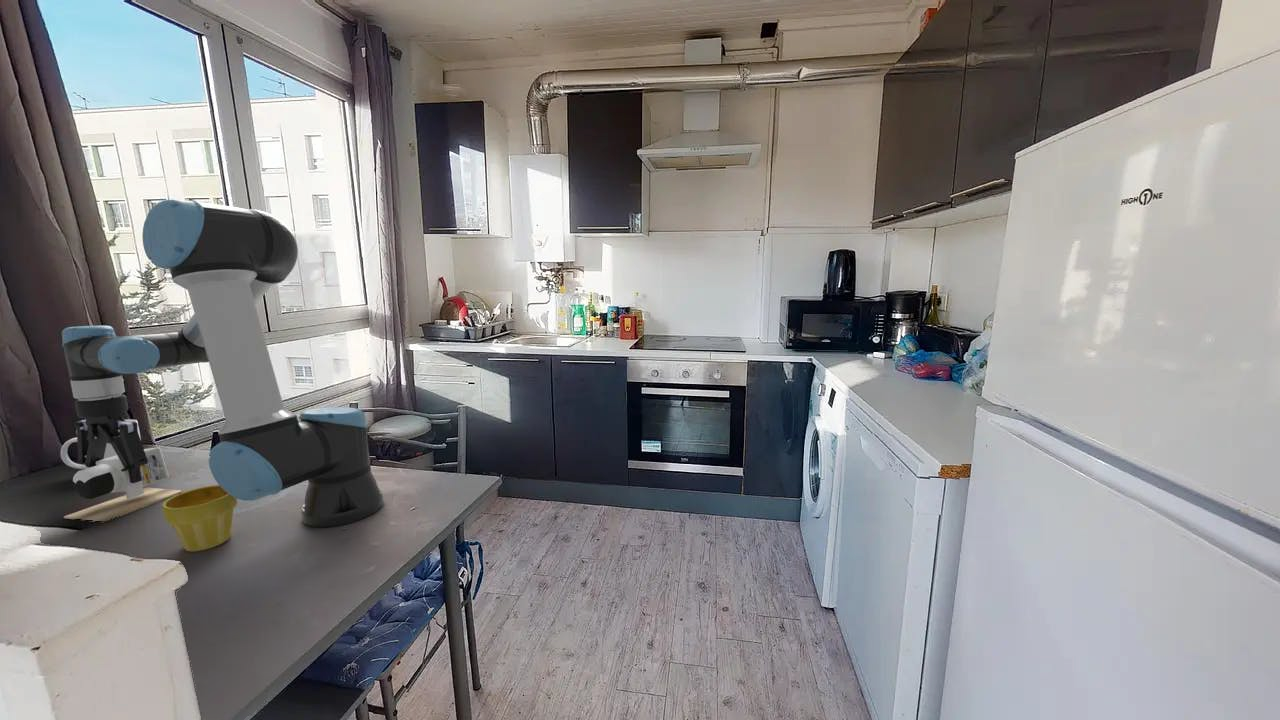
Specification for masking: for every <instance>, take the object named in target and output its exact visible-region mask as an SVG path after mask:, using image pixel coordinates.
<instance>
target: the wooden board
mask: <svg viewBox="0 0 1280 720" xmlns="http://www.w3.org/2000/svg"><path fill="white" fill-rule="evenodd" d="M143 491H144V494H141V495H138V496H135V497H133V498H130V499H128V498H127V497H126V494H124V495H121V496H119V497H116V498H115V497H114V498H113V499H110V500H107V501H104V502H102V503H99V504H95V505H93V506H90V507H87V508H84V509H81V510H79V511H76V512H73V513H70V514H66V515H64V516H63V519H66V520H67V519H69V520H75V519H81V520H80V521H85V520H93V521H92V522H95V521H103V522H102V523H105V522H104V521H107V522H109V521H111V520H110V519H112V520H114V519H116V518H115V517H117V518H120V517H123V516H124V515H127V514H130V513H133V512H136V511H138V510H141V509H144V508H146V507H147V506H151V505H153V504H156V503H159V502H161V501H164V500H168V499H169V498H171V497H173V496H175V495H178V494H179V493H183V492H184V491H183V490H182V489H181V490H180V489H170V488H168V489H167V488H157V487H143ZM140 508H141V509H140ZM137 509H138V510H137ZM119 516H120V517H119ZM113 518H114V519H113ZM108 520H109V521H108Z"/></svg>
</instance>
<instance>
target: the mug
mask: <svg viewBox="0 0 1280 720" xmlns="http://www.w3.org/2000/svg"><path fill="white" fill-rule="evenodd" d="M124 420H125V422H128V423H130V422H134V421H135V422H136V423H137V428H138V434H139V437H140V440H141V441H142V438H141V431H140V427H139V422H138V419H124ZM75 432H76V434H77V430H75ZM72 443H77V436H76V437H73V438H70V439H68V440H67V441H65V442H64V444H62V446H61V448H60V458H61V460H62V461H63V463H64V464H65V465H66V466H68V467H70V468H72V469H79V470H84V469H87V468H88V467H86V466H85V464H80V463H77V462H74V461H72V460H71V459H70V457H69V453H68V448H69V446H70V445H72ZM116 455H117V454H116V452H115V450H114V449H113V447H112V445H111V444H109V443H107V444H106V449H105V454H104V459H106V458H109V457H113V456H116ZM85 457H86V456H85Z"/></svg>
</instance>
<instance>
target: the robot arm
mask: <svg viewBox="0 0 1280 720" xmlns="http://www.w3.org/2000/svg"><path fill="white" fill-rule="evenodd" d="M141 235H142V237H141V238H142V246H143V250H144V253H145V255H146V258H147V259H148V260H150V261H151V264H153V265H154V266H156V267H158V268H161V269H163V270H169V273H170V275H171V278H172V281H173V283H174V284H176V285H177V286H180V287H181V288H183V289H185V290H187V293H188V296H189V300H190V303H191V305H192V309H193V313H194V314H193V315H192V316H191V317H190V319H189V320H188V321H187V323H185V325H183V327H182V328H181V329H180V331H176V332H175V331H174V332H162V333H153V334H139V335H137V334H136V335H124V336H118V335H117V334H116V332H115V328H113V327H112V326H111V325H79V326H68V327H66V328H64V329H62V331H61V336H62V339H61V340H62V344H61V346H62V348H63V350H64V356H65V360H66V365H67V371H68V374H69V380H70V381H69V382H70V386H71V392H72V398H74V399H77V400H75V402H74V405H75V411H76V416H77V417H78V418H81V419H82V420H78V421H75V422H74V427H75V429H76V430H77V433H76V437H77V442H76V445H77V462H78V464H81V465H85V466H86V467H88V468H91V467H94V466H96V461H99V460H102V459H104V454H105V449H106V444H107V443H109V444H111V445H112V447H113V449H114V450H115V452H116V454H117V456H118V457H119V459H120V461H121V463H122V465H123V466H124V468H123V469H121V471H122V476H123V481H124V487H125V495H126V497H127V498H128V499H130V498H133V497H135V496H138V495H141V494H144V491H143V489H144V487H143V485H142V477H141V471H140V466H142V465H145V464H147V463H148V460H147V457H146V454H145V451H144V449H145V448H144V446H143V443H142V439H141V440H140V438H141V436H140V437H139V434H138V428H137V423H136V422H135V421H134V422H130V423H128V422H125V420H126V419H125V418H124V416H123V414H124V413H125V412H127V411H128V410H129V403H128V397H127V395H125V394H124V393H125V392H126V389H125V384H124V382H125V380H124V378H123V375H130V374H141V373H145V372H148V371H150V370H155V369H161V368H162V369H163V368H169V367H177V366H183V365H191V364H201V363H203V364H204V363H209V367H210V370H211V374H212V377H213V381H214V384H215V387H216V390H217V394H218V397H219V401H220V405H221V408H222V411H223V414H224V418H225V423H224V424H223V425H222V427H221V428H220V429H219V430H218V432H217V433H218V437H219V441H220V442H218V443H217V444H215V446H213V447H212V448H211V450H210V452H209V453H208V456H209V458H208V465H209V470H210V471H211V472H210V473H211V474H212V476H213V478H214V480H215V482H216V483H217V485H219V486H220V487H221V488H222V489H223V490H224V491H225V492H227V493H229V494H230V495H231V496H233V497H235V498H237V500H240V501H243V502H246V501H248V502H251V501H258V500H261V499H262V498H265V497H266V498H267V497H269V496H273V495H274V496H275V495H276V494H279V493H281V491H283V490H286V489H288V488H291V487H294V486H296V485H299V484H301V483H304V482H306V481H307V484H308V485H307V488H306V491H305V496H304V502H303V503H304V504H303V505H302V508H301V519H302V523H303V524H305V525H306V526H309V527H313V528H328V527H329V528H330V527H338V526H342V525H347V524H350V523H354V522H357V521H360V520H362V519H365V518H367V517H369V516H371V515H372V514H375V513H376V512H377V511H379V510H380V509H381V508H382V506H383V504H384V498H383V497H384V496H383V492H382V490H381V488H380V487H379V486H378V483H377V480H376V478H375V477H374V474H373V472H372V468H371V456H370V447H369V445H370V444H369V433H368V427H369V426H368V425H367V422H366V421H367V420H366V415H365V413H364V411H363V410H362V409H360V408H355V407H349V406H348V407H345V406H344V407H343V406H339V407H337V406H334V407H333V406H332V407H318V408H310V409H305V410H303V411H301V412H300V414H299V417H298V416H297V414H296V413H295V412H293V411H291V410H288V409H286V408H285V406H284V402H283V399H282V396H281V391H280V389H279V388H280V387H279V386H278V382H277V377H276V375H275V371H274V366H273V364H272V359H271V356H270V353H269V349H268V345H267V342H266V339H265V335H264V332H263V329H262V328H263V327H262V324H261V321H260V317H259V313H258V310H257V306H256V305H257V304H258V302H259V301H260V300H261V299H262V298H263V297H264V295H265V294H266V293H267V292H268V291H269V289H270V288H271V287H272V286H273V285H276V284H281V283H282V282H284V281H285V280H286V279H287V277H288V276H289V275H290V274H291V272H292V271H293V270H294V267H295V265H296V263H297V260H298V255H299V254H298V253H299V251H298V249H299V248H298V244H297V241H296V238H295V236H294V234H293V233H292V231H291V229H290V228H289V227H288V226H287V225H286V224H285V223H284V222H283V221H282V220H280V219H279V218H278V217H276V216H274V215H273V214H270V213H268V212H266V211H263V210H259V209H253V208H242V207H236V206H228V205H223V204H216V203H215V204H214V203H207V202H201V201H199V200H194V199H193V200H182V199H165V200H161V201H159V202H157V203H156V204H155V205H153V206H152V207H151V209H150V210H149V211H148V212H147V216H146V217H145V220H144V222H143V226H142V234H141ZM298 419H299V420H300V421H299V420H298ZM76 430H75V431H76ZM85 456H86V457H85ZM129 463H130V464H129Z"/></svg>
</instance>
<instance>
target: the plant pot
mask: <svg viewBox="0 0 1280 720" xmlns="http://www.w3.org/2000/svg"><path fill="white" fill-rule="evenodd" d="M237 505H238V499H237V498H235V497H233V496H231V495H230V494H229V493H227V492H225V491H224V490H223V489H222V488H221V487H220V486H219V484H213V485H207V486H206V485H205V486H202V487H197V488H194V489H190V490H186V491H183V492H182V493H180V494H177V495H174V496H172V497H169V498H167V499H165V501H163V503H162V504H161V508H162V509H161V510H162V514H163V518H164V522H165V523H167V524H168V525H171V527H172V528H173V529H174V532H175V533H176V535H177V537H178V539H179V541H180V542H181V545H182V547H183V549H184V550H185V551H186V552H192V553H193V552H200V551H206V550H209V549H212V548H215V547H217V546H220V545H222V544H224V543H225V542H226V541H228V540H229V539H230V538H231V537H232V527H233V526H232V525H233V516H234V509H235V507H236V506H237Z"/></svg>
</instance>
